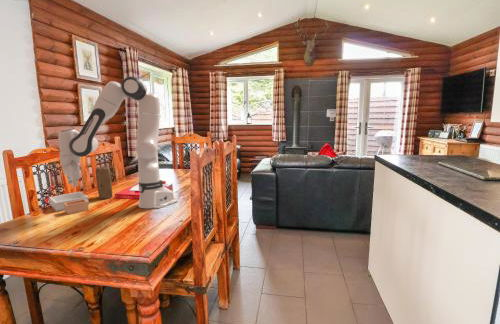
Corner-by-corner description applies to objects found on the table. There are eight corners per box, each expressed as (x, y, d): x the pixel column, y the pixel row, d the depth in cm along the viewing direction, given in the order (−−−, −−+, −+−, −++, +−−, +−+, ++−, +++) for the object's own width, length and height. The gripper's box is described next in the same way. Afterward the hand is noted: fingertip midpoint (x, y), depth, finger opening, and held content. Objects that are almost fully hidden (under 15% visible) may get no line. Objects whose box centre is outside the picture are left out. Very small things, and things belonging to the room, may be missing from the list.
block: (113, 198, 173) (110, 167, 170) (100, 200, 168) (97, 168, 165) (110, 194, 181) (107, 165, 178) (97, 196, 177) (94, 166, 174)
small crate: (85, 207, 155) (84, 199, 155) (88, 209, 151) (87, 201, 150) (64, 212, 148) (63, 203, 148) (67, 214, 144) (66, 205, 143)
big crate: (81, 199, 171) (80, 191, 170) (89, 204, 160) (88, 196, 159) (50, 205, 160) (49, 197, 159) (56, 211, 149) (55, 203, 148)
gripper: (82, 161, 140) (85, 187, 142) (72, 157, 154) (74, 180, 156) (68, 162, 136) (71, 189, 138) (58, 158, 150) (61, 182, 152)
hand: (72, 184), depth 147 cm, fingers open, 8 cm apart
